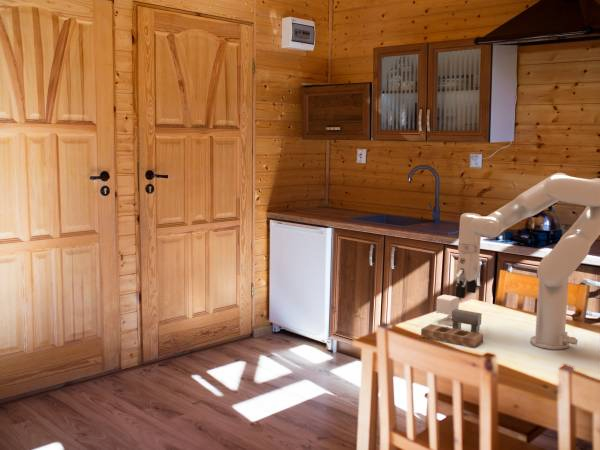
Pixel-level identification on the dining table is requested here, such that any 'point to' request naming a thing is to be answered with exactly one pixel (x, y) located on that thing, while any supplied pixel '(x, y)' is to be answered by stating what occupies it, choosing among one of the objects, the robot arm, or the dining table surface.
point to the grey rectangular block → (466, 319)
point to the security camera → (447, 307)
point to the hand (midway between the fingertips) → (465, 294)
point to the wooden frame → (452, 335)
